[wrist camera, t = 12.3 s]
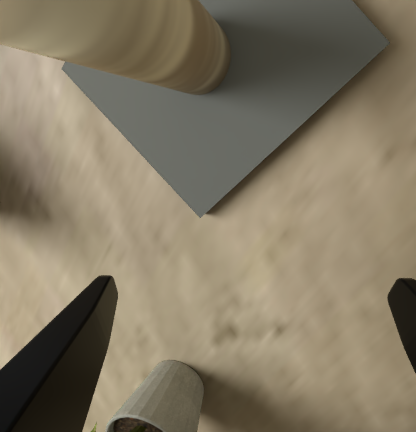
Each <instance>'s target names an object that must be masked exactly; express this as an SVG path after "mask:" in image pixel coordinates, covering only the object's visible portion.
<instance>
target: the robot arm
mask: <svg viewBox="0 0 416 432" xmlns="http://www.w3.org/2000/svg"><path fill="white" fill-rule="evenodd" d="M117 300H118V291H117V288H116V285H115V281H114V278H113V277H112V276H110V275H101V276H98V277H97V278H96V279H95V280H94V281H93V282H92V283H91V284H90V285H89V286H87V287H86V288H85V289H84V290H83V291H82V292H81V293H80V294H79V295H78V296H77V297H76V298H75V299H74V300H73V301H72V302H71V303H70V304H69V305H68V306H67V307H66V308H64V309H63V310H62V311H61V312H60V313H59V314H58V315H57V316H56V317H55V318H54V319H53V320H52V321H51V322H50V323H49V324H48V325H47V326H46V327H45V328H44V329H42V330H41V331H40V332H39V333H38V334H37V335H36V336H35V337H34V338H33V339H32V340H31V341H30V342H29V343H28V344H27V345H26V346H25V347H24V348H23V349H22V350H21V351H19V352H18V353H17V354H16V355H15V356H14V357H13V358H12V359H11V360H10V361H9V362H8V363H7V364H6V365H5V366H4V367H3V368H2V369H1V370H0V432H82V430H83V427H84V424H85V420H86V417H87V414H88V411H89V408H90V404H91V401H92V398H93V395H94V391H95V388H96V385H97V382H98V378H99V375H100V372H101V369H102V366H103V362H104V359H105V356H106V353H107V349H108V345H109V341H110V336H111V331H112V326H113V321H114V315H115V310H116V305H117ZM388 303H389V306H390V309H391V312H392V315H393V318H394V321H395V324H396V327H397V330H398V332H399V335H400V338H401V341H402V344H403V346H404V349H405V351H406V354H407V356H408V358H409V360H410V362H411V365H412V367H413V369H414V371H415V373H416V280H415V279H412V278H399V279H397V280H396V282H395V283H394V285H393V287H392V288H391V290H390V292H389V294H388Z"/></svg>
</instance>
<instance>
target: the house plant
mask: <svg viewBox="0 0 416 432" xmlns="http://www.w3.org/2000/svg"><path fill="white" fill-rule="evenodd" d="M203 395H204V386H203V382H202V380H201V379H200V377H199V375H198V374H197V373H196V372H195V371H194V370H193V369H192V368H190V367H189V366H187V365H185V364H183V363H182V362H178V361H174V360H167V361H162V362H161V363H159V364H158V365H157V366H156V367H155V368H154V369H153V371H152V372H151V373H150V374H149V375H148V376H147V378H146V379H145V380H144V381H143V382H142V383H141V385H140V386H139V387H138V388H137V389H136V390H135V392H134V393H133V394H132V395H131V396H130V397H129V398H128V400H127V401H126V402H125V403H124V404H123V405H122V407H121V408H120V409H119V410H118V411H117V412H116V414H115V415H114V416H113V417H112V418H111V420H110V421H109V422H108V423H107V426H106V431H105V432H197V429H198V423H199V417H200V412H201V406H202V400H203ZM96 424H97V422H96ZM96 424H95V427H94V429H93V430H92V431H91V432H96Z"/></svg>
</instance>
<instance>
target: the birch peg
mask: <svg viewBox="0 0 416 432" xmlns="http://www.w3.org/2000/svg"><path fill="white" fill-rule="evenodd" d="M0 44H1V45H5V46H9V47H12V48H16V49H20V50H24V51H28V52H32V53H35V54H39V55H43V56H47V57H51V58H54V59H58V60H62V61H66V62H70V63H73V64H77V65H81V66H85V67H89V68H93V69H96V70H100V71H104V72H108V73H112V74H115V75H119V76H123V77H127V78H131V79H135V80H138V81H142V82H146V83H150V84H154V85H157V86H161V87H165V88H169V89H173V90H176V91H180V92H184V93H188V94H192V95H202V94H206V93H209V92H211V91H212V90H214V89H215V88H216V87H218V86H219V85H220V83H221V82H222V81H223V80H224V78H225V76H226V74H227V72H228V69H229V66H230V61H231V48H230V43H229V40H228V38H227V35H226V34H225V32H224V30H223V29H222V28H221V27H220V26H219V24H218V23H217V22H216V21H215V20H214V18H213V17H212V16H211V15H210V14H209V12H208V11H207V10H206V9H205V7H204V6H203V5H202V4H201V3H200V1H199V0H0Z"/></svg>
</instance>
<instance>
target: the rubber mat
mask: <svg viewBox="0 0 416 432" xmlns="http://www.w3.org/2000/svg"><path fill="white" fill-rule="evenodd" d="M199 1H200V3H201V4H202V5H203V6H204V7H205V9H206V10H207V11H208V12H209V14H210V15H211V16H212V17H213V18H214V20H215V21H216V22H217V23H218V24H219V26H220V27H221V28H222V29H223V30H224V32H225V34H226V35H227V38H228V40H229V43H230V48H231V61H230V66H229V69H228V72H227V74H226V76H225V78H224V80H223V81H222V82H221V83H220V85H219V86H218V87H216V88H215V89H214V90H212V91H211V92H209V93H206V94H202V95H192V94H188V93H184V92H180V91H176V90H173V89H169V88H165V87H161V86H157V85H154V84H150V83H146V82H142V81H138V80H135V79H131V78H127V77H123V76H119V75H115V74H112V73H108V72H104V71H100V70H96V69H93V68H89V67H85V66H81V65H77V64H73V63H70V62H66V61H65V63H64V65H63V67H62V70H63V71H64V72H65V73H66V74H67V75H68V76H69V77H70V78H71V80H72V81H73V82H74V83H75V84H76V85H77V86H78V87H79V88H80V89H81V90H82V91H83V92H84V94H85V95H86V96H87V97H88V98H89V99H90V100H91V101H92V102H93V103H94V104H95V105H96V106H97V108H98V109H99V110H100V111H101V112H102V113H103V114H104V115H105V116H106V117H107V118H108V119H109V120H110V122H111V123H112V124H113V125H114V126H115V127H116V128H117V129H118V130H119V131H120V132H121V133H122V134H123V136H124V137H125V138H126V139H127V140H128V141H129V142H130V143H131V144H132V145H133V146H134V147H135V148H136V150H137V151H138V152H139V153H140V154H141V155H142V156H143V157H144V158H145V159H146V160H147V161H148V162H149V164H150V165H151V166H152V167H153V168H154V169H155V170H156V171H157V172H158V173H159V174H160V175H161V176H162V178H163V179H164V180H165V181H166V182H167V183H168V184H169V185H170V186H171V187H172V188H173V189H174V190H175V192H176V193H177V194H178V195H179V196H180V197H181V198H182V199H183V200H184V201H185V202H186V203H187V204H188V206H189V207H190V208H191V209H192V210H193V211H194V212H195V213H196V214H197V215H198V216H199V217H200V218H201V217H202V216H203V215H204V214H205V213H206V212H207V211H209V210H210V209H211V208H212V207H213V206H214V205H215V204H216V203H217V202H218V201H219V200H220V199H222V198H223V197H224V196H225V195H226V194H227V193H228V192H229V191H230V190H231V189H232V188H233V187H235V186H236V185H237V184H238V183H239V182H240V181H241V180H242V179H243V178H244V177H245V176H246V175H248V174H249V173H250V172H251V171H252V170H253V169H254V168H255V167H256V166H257V165H258V164H259V163H261V162H262V161H263V160H264V159H265V158H266V157H267V156H268V155H269V154H270V153H271V152H272V151H274V150H275V149H276V148H277V147H278V146H279V145H280V144H281V143H282V142H283V141H284V140H285V139H287V138H288V137H289V136H290V135H291V134H292V133H293V132H294V131H295V130H296V129H297V128H298V127H300V126H301V125H302V124H303V123H304V122H305V121H306V120H307V119H308V118H309V117H310V116H311V115H313V114H314V113H315V112H316V111H317V110H318V109H319V108H320V107H321V106H322V105H323V104H324V103H326V102H327V101H328V100H329V99H330V98H331V97H332V96H333V95H334V94H335V93H336V92H337V91H339V90H340V89H341V88H342V87H343V86H344V85H345V84H346V83H347V82H348V81H349V80H350V79H352V78H353V77H354V76H355V75H356V74H357V73H358V72H359V71H360V70H361V69H362V68H363V67H365V66H366V65H367V64H368V63H369V62H370V61H371V60H372V59H373V58H374V57H375V56H376V55H378V54H379V53H380V52H381V51H382V50H383V49H384V48H385V47H386V46H387V45H388V44H389V43H390V42H389V41H388V40H387V39H386V38H385V37H384V35H383V34H382V33H381V32H380V31H379V30H378V29H377V28H376V27H375V25H374V24H373V23H372V22H371V21H370V20H369V19H368V18H367V17H366V15H365V14H364V13H363V12H362V11H361V10H360V9H359V8H358V7H357V5H356V4H355V3H354V2H353V1H352V0H199Z"/></svg>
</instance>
